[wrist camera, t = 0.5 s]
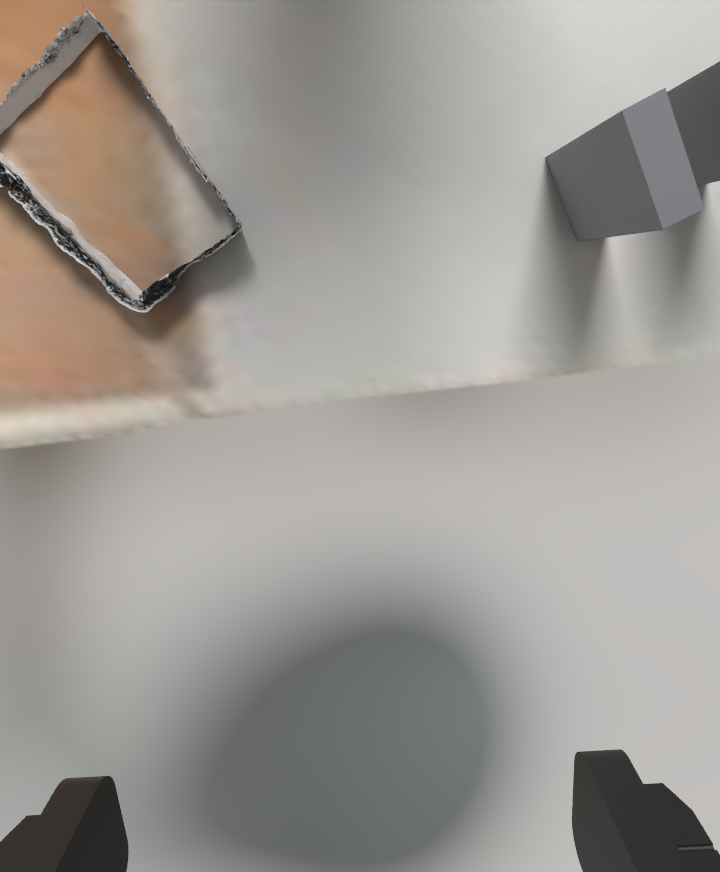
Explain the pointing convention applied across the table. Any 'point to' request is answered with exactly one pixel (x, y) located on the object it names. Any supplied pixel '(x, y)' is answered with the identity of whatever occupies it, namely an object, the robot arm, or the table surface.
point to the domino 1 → (627, 173)
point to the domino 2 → (700, 122)
